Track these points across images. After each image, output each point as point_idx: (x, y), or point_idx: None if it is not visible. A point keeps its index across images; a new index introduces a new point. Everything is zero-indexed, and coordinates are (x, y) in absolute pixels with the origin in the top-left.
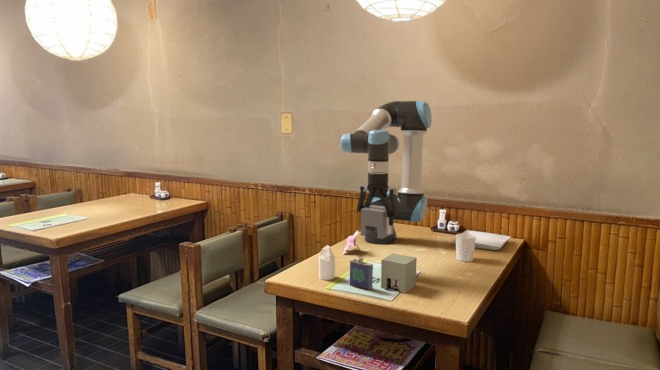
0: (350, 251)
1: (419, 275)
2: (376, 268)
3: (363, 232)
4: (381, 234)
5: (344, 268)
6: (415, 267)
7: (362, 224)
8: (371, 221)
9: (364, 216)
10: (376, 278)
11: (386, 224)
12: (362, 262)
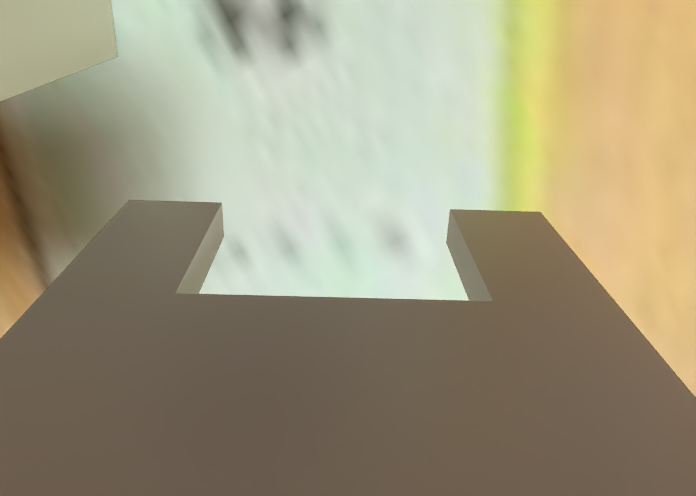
0: None
1: (26, 270)
2: (368, 250)
3: (499, 232)
4: (117, 227)
5: (602, 119)
6: None
7: (577, 310)
8: (336, 372)
9: (610, 461)
10: (252, 29)
11: None
12: None
